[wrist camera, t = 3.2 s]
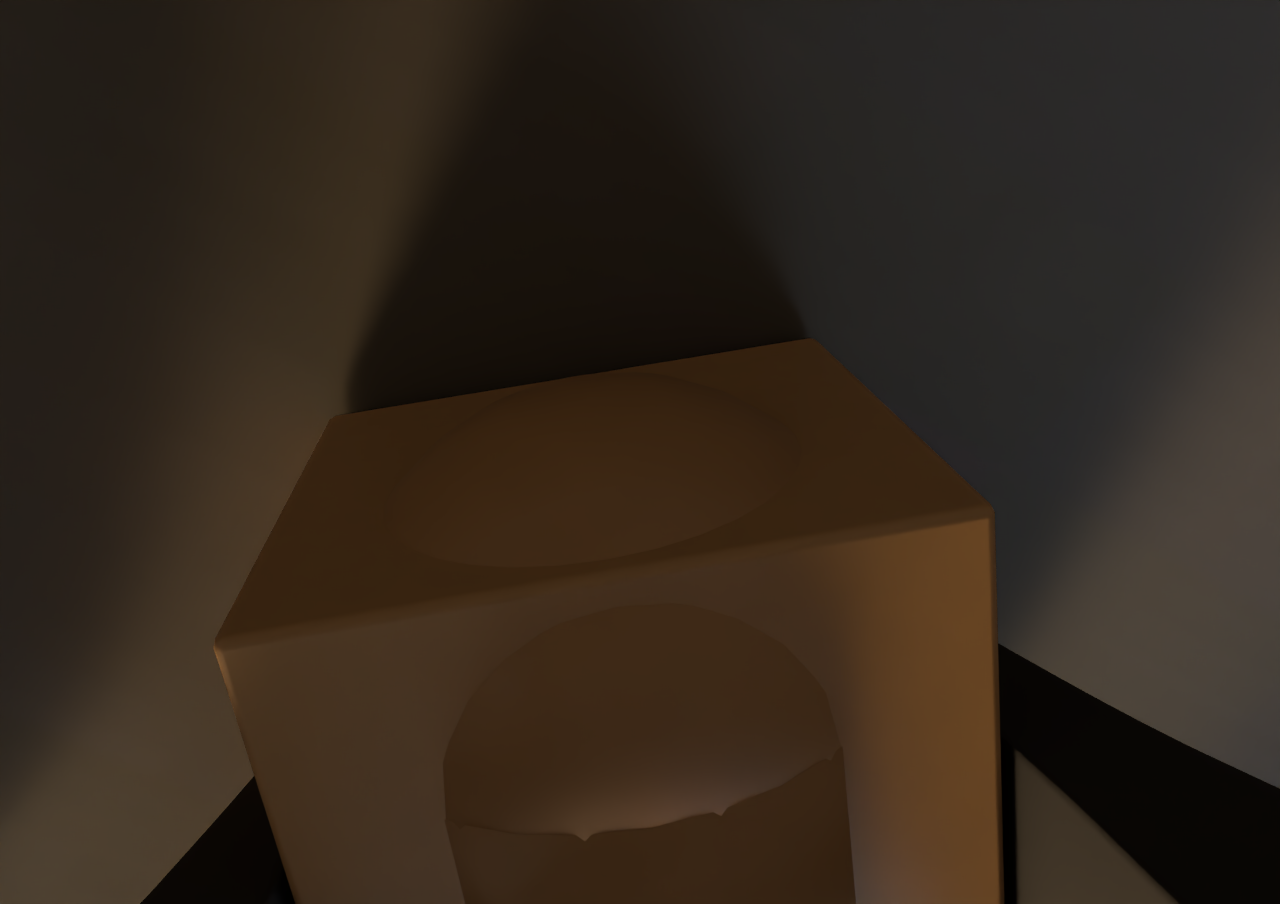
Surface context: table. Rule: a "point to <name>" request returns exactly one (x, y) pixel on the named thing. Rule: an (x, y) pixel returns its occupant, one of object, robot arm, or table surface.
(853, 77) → the table surface
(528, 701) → the tan pill window box
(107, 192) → the table surface
